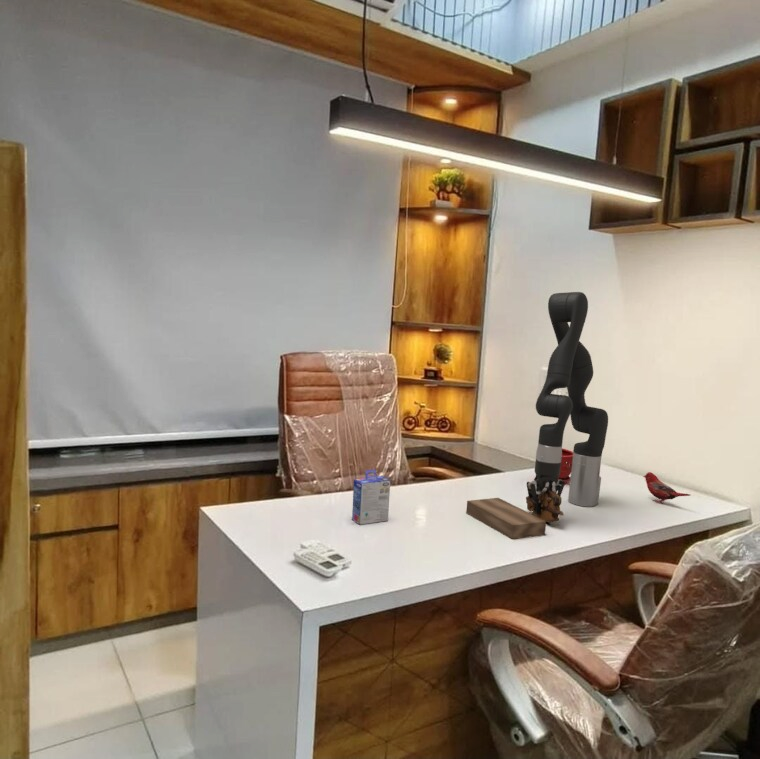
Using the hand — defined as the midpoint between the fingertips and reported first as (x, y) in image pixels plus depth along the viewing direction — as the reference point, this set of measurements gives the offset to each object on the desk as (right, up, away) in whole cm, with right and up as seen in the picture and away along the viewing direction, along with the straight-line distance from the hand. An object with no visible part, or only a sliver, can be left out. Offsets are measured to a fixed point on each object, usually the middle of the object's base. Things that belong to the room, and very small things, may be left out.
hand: (542, 513), depth 184 cm
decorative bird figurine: (+50, -3, +26) cm, 56 cm away
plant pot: (+17, +2, +47) cm, 50 cm away
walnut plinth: (-13, -2, -5) cm, 14 cm away
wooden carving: (0, -2, 0) cm, 3 cm away
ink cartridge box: (-53, 0, -10) cm, 54 cm away
